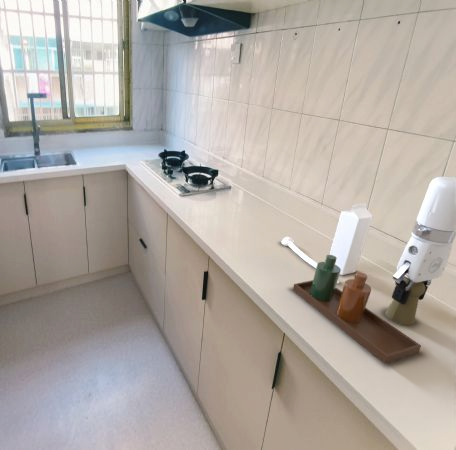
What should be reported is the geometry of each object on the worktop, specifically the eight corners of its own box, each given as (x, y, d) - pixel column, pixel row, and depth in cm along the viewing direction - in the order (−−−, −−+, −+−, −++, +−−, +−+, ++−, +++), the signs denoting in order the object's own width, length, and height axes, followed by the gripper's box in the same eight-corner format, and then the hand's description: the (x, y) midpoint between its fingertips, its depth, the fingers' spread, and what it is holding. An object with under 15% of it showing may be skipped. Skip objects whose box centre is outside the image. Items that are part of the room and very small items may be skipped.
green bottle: (321, 288, 95) (331, 250, 91) (337, 299, 91) (348, 260, 86) (305, 291, 94) (315, 253, 89) (320, 303, 89) (331, 263, 84)
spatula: (346, 283, 99) (349, 275, 98) (335, 285, 98) (337, 277, 97) (289, 242, 124) (290, 235, 123) (279, 242, 123) (280, 235, 122)
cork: (401, 309, 88) (416, 273, 84) (419, 325, 83) (436, 287, 79) (380, 310, 88) (393, 273, 84) (396, 325, 83) (411, 287, 78)
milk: (355, 272, 106) (377, 206, 97) (341, 275, 103) (362, 208, 94) (338, 262, 111) (358, 199, 102) (325, 266, 108) (344, 201, 99)
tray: (320, 284, 98) (322, 278, 98) (418, 353, 74) (421, 345, 73) (292, 290, 95) (294, 283, 94) (385, 364, 71) (388, 356, 70)
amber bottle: (347, 307, 88) (360, 267, 83) (366, 320, 83) (381, 279, 78) (330, 311, 86) (343, 270, 81) (349, 325, 81) (363, 283, 76)
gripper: (424, 244, 70) (396, 315, 77) (476, 234, 76) (445, 301, 83) (390, 229, 76) (368, 296, 84) (440, 222, 82) (415, 285, 89)
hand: (407, 298), depth 83 cm, fingers closed on cork, 5 cm apart
